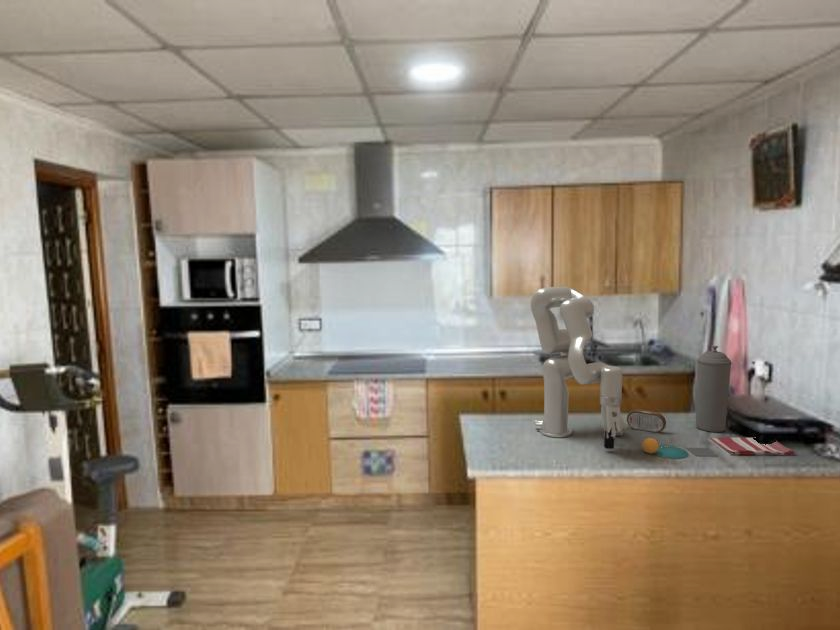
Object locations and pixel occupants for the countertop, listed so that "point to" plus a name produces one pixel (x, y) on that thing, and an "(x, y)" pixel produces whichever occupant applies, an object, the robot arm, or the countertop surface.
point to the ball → (650, 445)
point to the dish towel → (749, 447)
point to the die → (623, 426)
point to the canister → (712, 390)
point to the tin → (646, 421)
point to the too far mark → (702, 452)
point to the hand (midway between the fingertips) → (609, 447)
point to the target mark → (671, 452)
